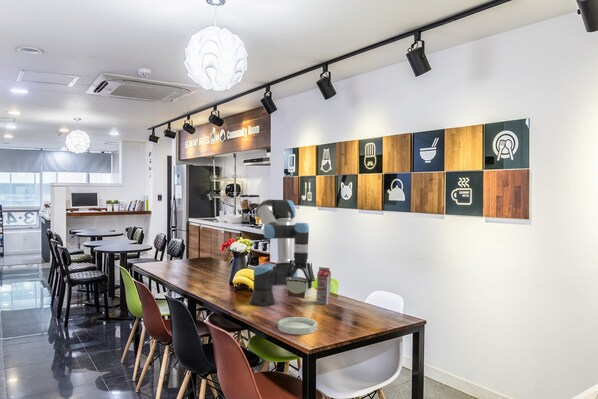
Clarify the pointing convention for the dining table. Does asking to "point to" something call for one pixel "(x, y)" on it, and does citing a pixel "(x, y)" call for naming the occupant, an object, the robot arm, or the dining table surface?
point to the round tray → (297, 325)
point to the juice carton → (323, 286)
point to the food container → (296, 287)
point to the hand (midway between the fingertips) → (299, 292)
